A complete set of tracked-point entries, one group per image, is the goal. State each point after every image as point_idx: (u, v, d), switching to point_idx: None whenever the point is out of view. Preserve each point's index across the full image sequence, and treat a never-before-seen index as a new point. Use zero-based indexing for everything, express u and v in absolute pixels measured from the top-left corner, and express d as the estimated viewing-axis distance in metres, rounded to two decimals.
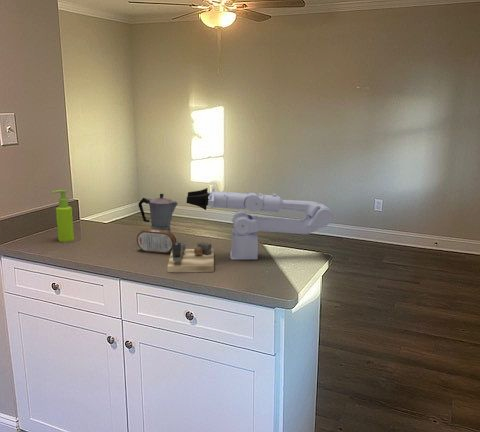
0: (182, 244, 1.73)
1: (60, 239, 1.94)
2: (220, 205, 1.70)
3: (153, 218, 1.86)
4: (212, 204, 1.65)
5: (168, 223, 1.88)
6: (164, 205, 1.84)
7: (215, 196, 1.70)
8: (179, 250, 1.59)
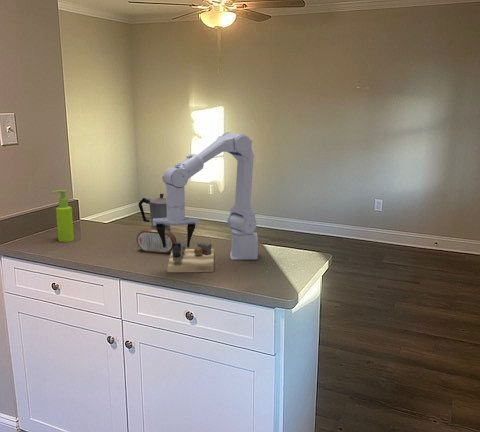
0: (182, 244, 1.73)
1: (60, 239, 1.94)
2: None
3: None
4: (198, 220, 1.59)
5: None
6: (164, 205, 1.84)
7: (183, 218, 1.56)
8: (179, 250, 1.59)
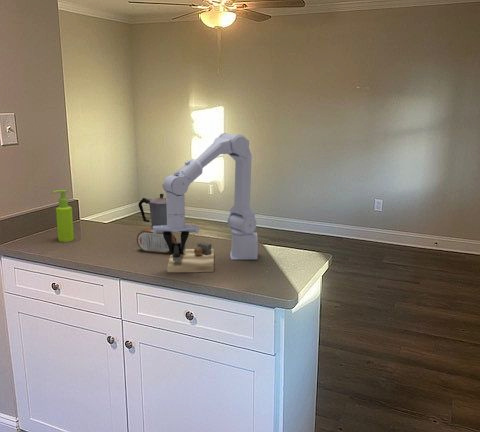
0: None
1: (60, 239, 1.94)
2: None
3: (153, 218, 1.86)
4: (198, 227, 1.59)
5: None
6: (164, 205, 1.84)
7: (183, 226, 1.57)
8: (179, 250, 1.59)
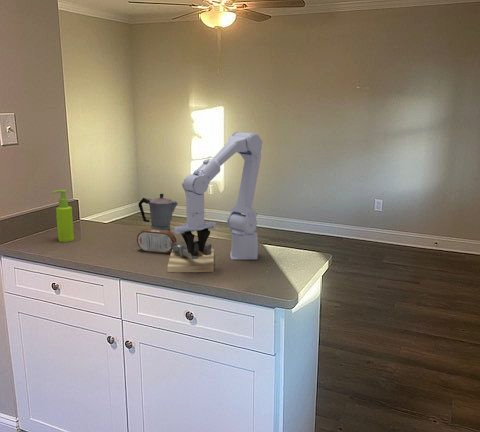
0: (181, 244, 1.73)
1: (60, 239, 1.94)
2: None
3: (153, 218, 1.86)
4: None
5: (168, 223, 1.88)
6: (164, 205, 1.84)
7: (204, 223, 1.60)
8: (198, 248, 1.62)
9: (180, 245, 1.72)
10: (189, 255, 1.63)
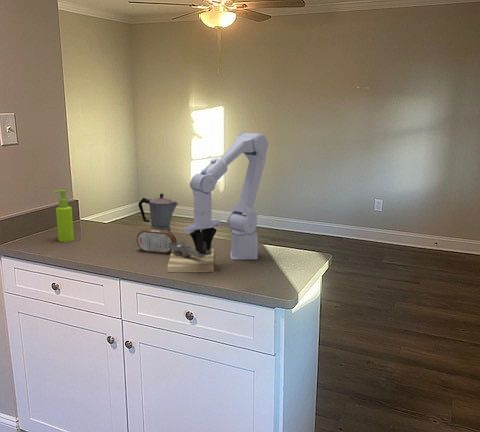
0: (180, 243, 1.73)
1: (60, 239, 1.94)
2: None
3: (153, 218, 1.86)
4: None
5: (168, 223, 1.88)
6: (164, 205, 1.84)
7: None
8: (206, 246, 1.64)
9: (181, 245, 1.72)
10: (196, 254, 1.65)
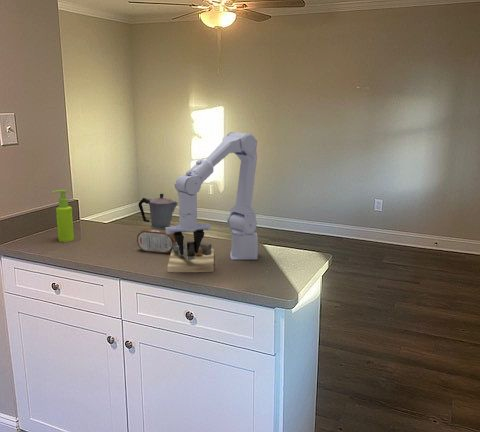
0: None
1: (60, 239, 1.94)
2: None
3: (153, 218, 1.86)
4: None
5: (168, 223, 1.88)
6: (164, 205, 1.84)
7: (196, 224, 1.59)
8: (195, 249, 1.61)
9: None
10: (186, 255, 1.63)
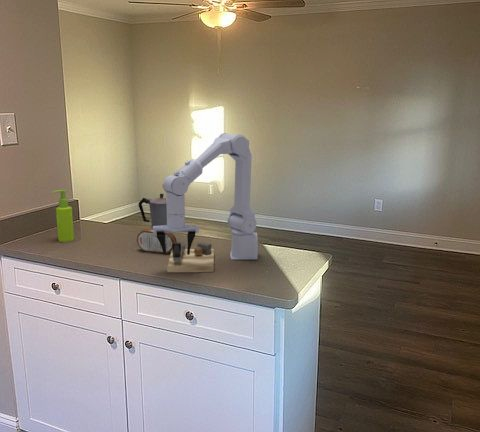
0: (182, 244, 1.73)
1: (60, 239, 1.94)
2: None
3: (153, 218, 1.86)
4: (198, 227, 1.59)
5: None
6: (165, 205, 1.84)
7: (183, 226, 1.57)
8: (179, 250, 1.59)
9: None
10: None
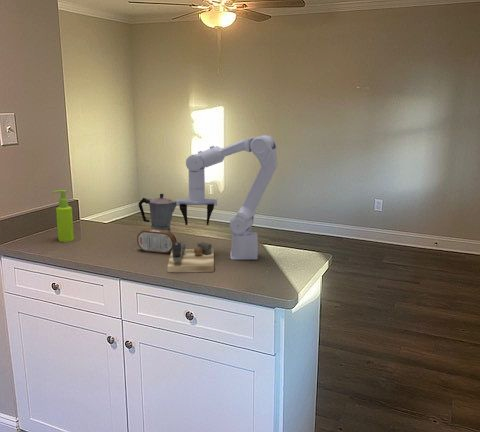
0: (182, 244, 1.73)
1: (60, 239, 1.94)
2: None
3: (153, 218, 1.86)
4: (216, 200, 1.79)
5: (168, 223, 1.88)
6: (164, 205, 1.84)
7: (203, 199, 1.77)
8: (179, 250, 1.59)
9: None
10: None
